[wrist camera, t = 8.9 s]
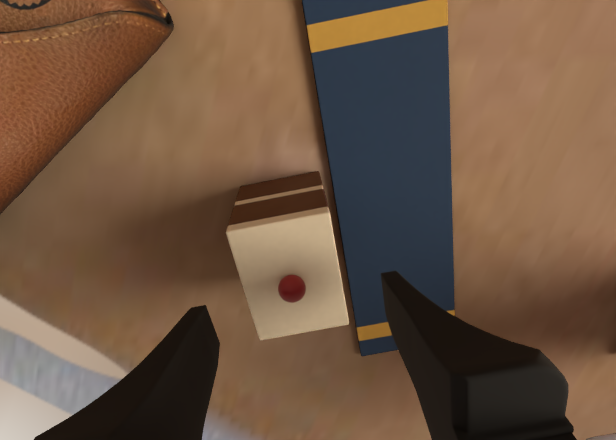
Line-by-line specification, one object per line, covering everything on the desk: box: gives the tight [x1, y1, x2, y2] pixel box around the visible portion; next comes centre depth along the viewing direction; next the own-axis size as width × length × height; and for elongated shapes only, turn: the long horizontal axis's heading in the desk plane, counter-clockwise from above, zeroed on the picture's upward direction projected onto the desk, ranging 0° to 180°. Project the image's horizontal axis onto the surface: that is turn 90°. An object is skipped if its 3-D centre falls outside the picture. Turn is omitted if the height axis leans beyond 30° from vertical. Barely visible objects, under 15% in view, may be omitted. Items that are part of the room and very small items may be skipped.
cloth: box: [302, 0, 455, 356], centre depth 21 cm, size 6×22×1 cm, turn 10°
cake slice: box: [226, 172, 349, 340], centre depth 19 cm, size 4×6×7 cm
